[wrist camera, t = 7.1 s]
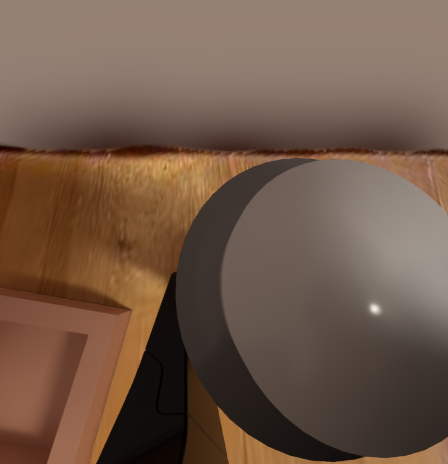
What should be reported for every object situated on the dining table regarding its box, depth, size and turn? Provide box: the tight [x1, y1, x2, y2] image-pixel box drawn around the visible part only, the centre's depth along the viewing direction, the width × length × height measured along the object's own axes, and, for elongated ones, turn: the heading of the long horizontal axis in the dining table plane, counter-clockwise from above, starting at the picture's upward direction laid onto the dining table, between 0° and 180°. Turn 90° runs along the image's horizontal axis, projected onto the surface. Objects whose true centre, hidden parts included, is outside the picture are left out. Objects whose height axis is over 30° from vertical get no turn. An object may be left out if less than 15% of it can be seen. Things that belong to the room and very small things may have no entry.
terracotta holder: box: [0, 287, 132, 464], centre depth 14 cm, size 11×11×3 cm
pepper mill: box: [176, 158, 448, 462], centre depth 9 cm, size 5×5×13 cm
